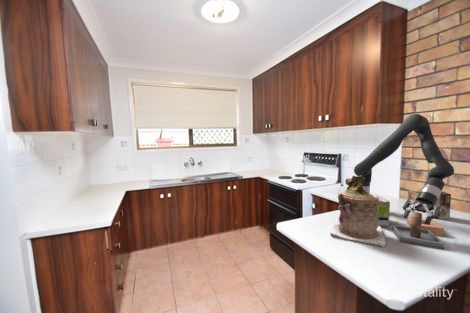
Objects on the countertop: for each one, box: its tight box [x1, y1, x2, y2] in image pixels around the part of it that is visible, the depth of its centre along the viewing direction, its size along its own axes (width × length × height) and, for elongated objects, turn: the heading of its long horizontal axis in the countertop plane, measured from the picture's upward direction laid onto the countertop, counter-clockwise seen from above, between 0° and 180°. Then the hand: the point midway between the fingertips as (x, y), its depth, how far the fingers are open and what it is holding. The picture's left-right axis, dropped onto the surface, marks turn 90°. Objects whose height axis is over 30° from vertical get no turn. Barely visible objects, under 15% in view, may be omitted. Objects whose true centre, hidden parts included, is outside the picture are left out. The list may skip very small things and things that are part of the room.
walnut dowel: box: [410, 211, 423, 238], centre depth 104 cm, size 4×4×12 cm
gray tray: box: [391, 224, 445, 250], centre depth 104 cm, size 16×16×2 cm
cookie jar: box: [329, 175, 387, 248], centre depth 110 cm, size 25×25×32 cm
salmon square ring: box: [406, 216, 445, 237], centre depth 114 cm, size 12×12×4 cm
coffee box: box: [426, 191, 452, 220], centre depth 131 cm, size 9×6×16 cm
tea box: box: [374, 194, 391, 227], centre depth 126 cm, size 15×10×15 cm
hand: (415, 220), depth 103 cm, fingers open, 8 cm apart
